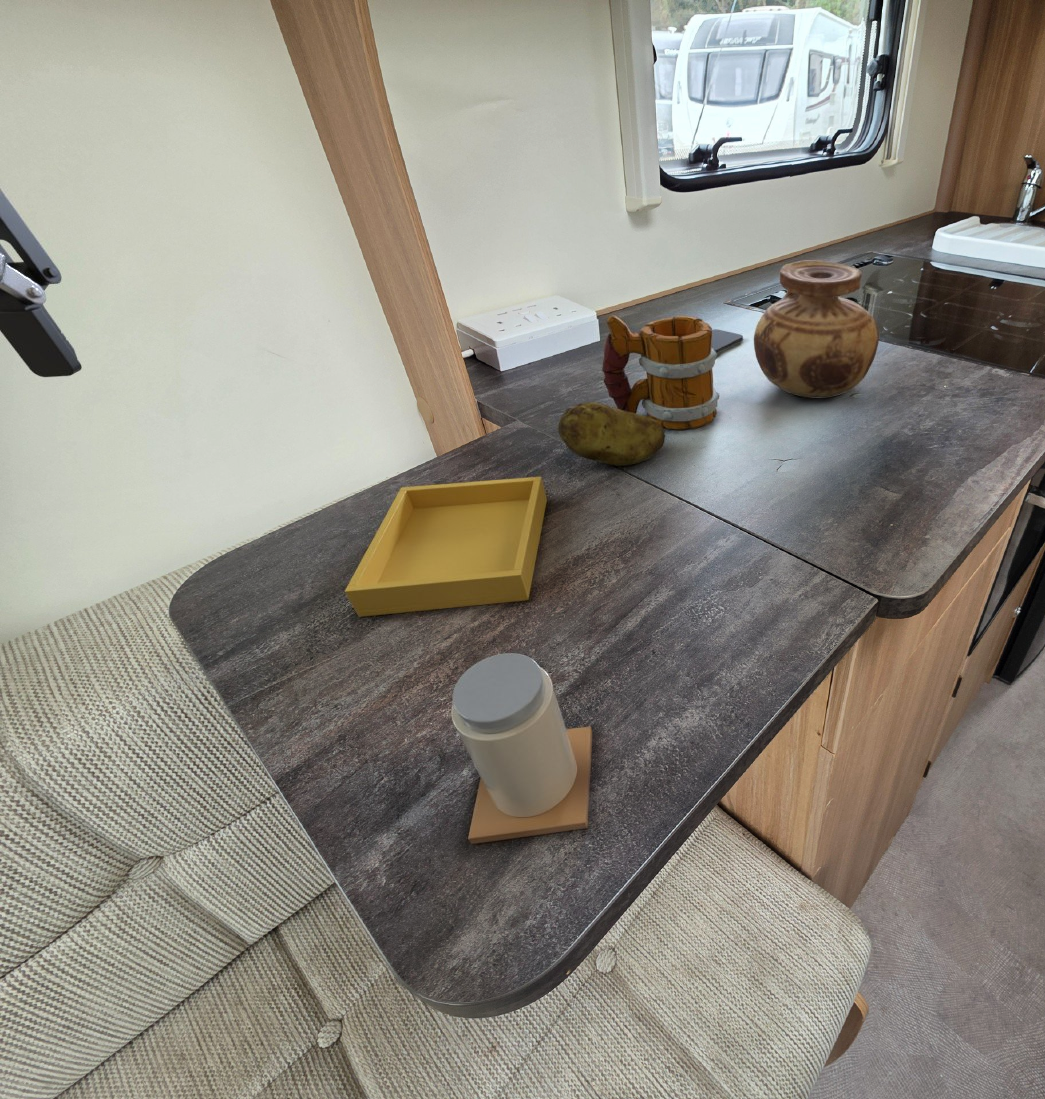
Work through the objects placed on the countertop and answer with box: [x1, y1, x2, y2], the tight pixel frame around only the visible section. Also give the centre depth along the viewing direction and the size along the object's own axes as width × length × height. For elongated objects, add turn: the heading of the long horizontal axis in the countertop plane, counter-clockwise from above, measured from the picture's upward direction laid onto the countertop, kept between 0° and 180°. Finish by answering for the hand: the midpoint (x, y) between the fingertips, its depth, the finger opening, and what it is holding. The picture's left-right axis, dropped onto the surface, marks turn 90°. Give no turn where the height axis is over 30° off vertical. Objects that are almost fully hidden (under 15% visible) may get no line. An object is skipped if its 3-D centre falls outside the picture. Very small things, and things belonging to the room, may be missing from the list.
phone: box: [712, 328, 744, 354], centre depth 110 cm, size 7×1×15 cm
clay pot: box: [753, 259, 880, 399], centre depth 91 cm, size 19×19×20 cm
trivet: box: [467, 726, 593, 845], centre depth 42 cm, size 8×8×1 cm
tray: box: [344, 476, 548, 618], centre depth 63 cm, size 18×16×3 cm
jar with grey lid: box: [450, 652, 577, 817], centre depth 39 cm, size 6×6×10 cm
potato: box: [557, 402, 666, 467], centre depth 76 cm, size 8×13×8 cm, turn 92°
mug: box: [601, 314, 720, 431], centre depth 84 cm, size 11×16×15 cm, turn 102°
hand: (3, 404), depth 32 cm, fingers open, 8 cm apart
